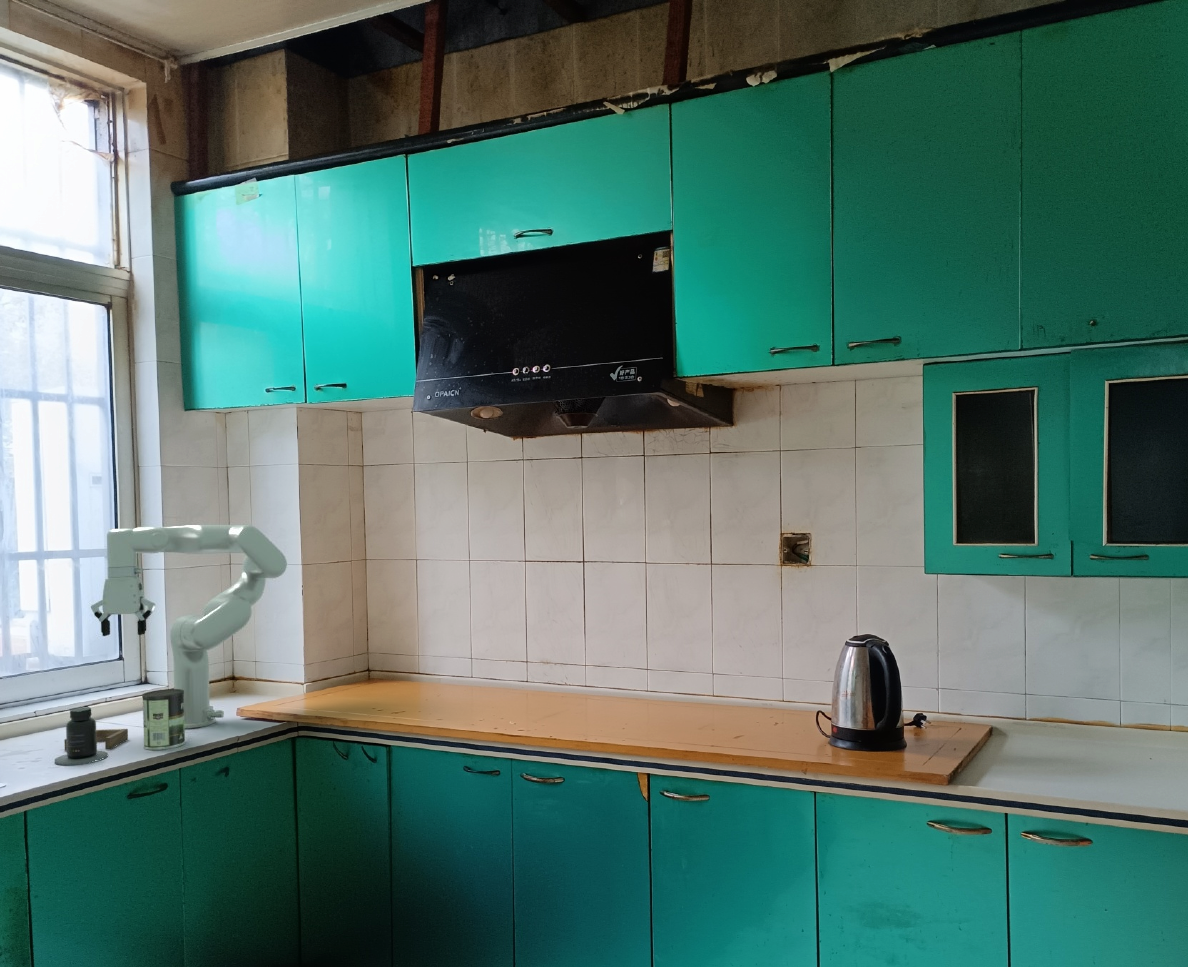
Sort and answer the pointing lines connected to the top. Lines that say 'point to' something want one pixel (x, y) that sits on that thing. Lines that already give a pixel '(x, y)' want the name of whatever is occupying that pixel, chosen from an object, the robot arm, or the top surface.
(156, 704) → the coffee can
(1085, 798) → the top surface
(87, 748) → the supplement bottle
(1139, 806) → the top surface
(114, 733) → the bottle holder
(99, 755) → the rubber mat
